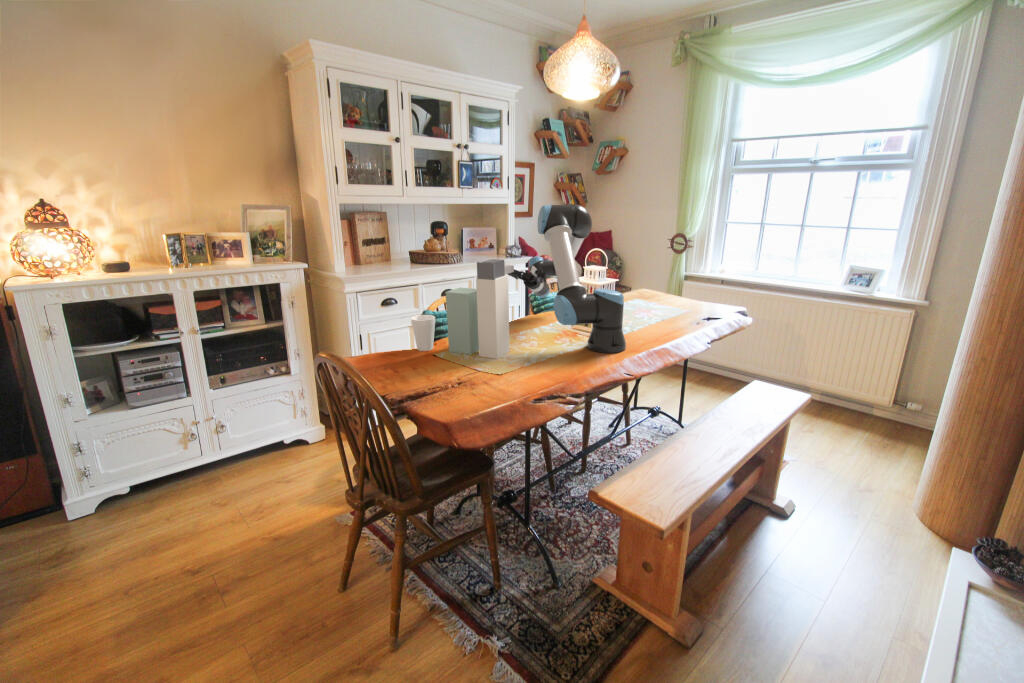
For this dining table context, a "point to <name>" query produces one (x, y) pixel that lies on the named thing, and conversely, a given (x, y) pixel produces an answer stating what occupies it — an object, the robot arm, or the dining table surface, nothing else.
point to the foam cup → (423, 331)
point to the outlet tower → (492, 312)
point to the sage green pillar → (462, 320)
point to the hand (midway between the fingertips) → (517, 266)
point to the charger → (501, 267)
